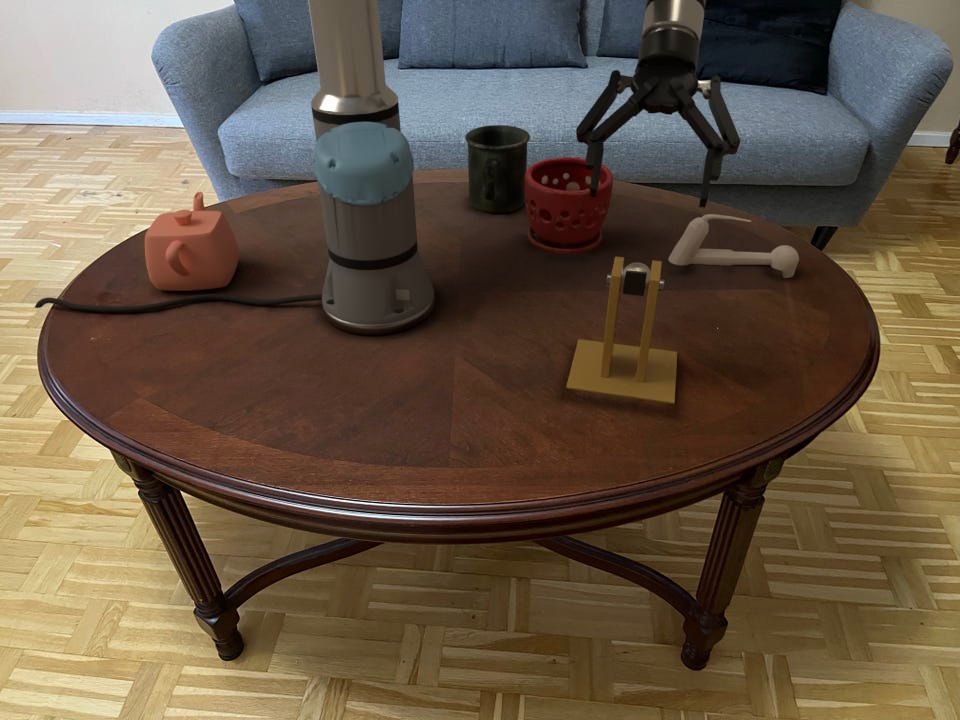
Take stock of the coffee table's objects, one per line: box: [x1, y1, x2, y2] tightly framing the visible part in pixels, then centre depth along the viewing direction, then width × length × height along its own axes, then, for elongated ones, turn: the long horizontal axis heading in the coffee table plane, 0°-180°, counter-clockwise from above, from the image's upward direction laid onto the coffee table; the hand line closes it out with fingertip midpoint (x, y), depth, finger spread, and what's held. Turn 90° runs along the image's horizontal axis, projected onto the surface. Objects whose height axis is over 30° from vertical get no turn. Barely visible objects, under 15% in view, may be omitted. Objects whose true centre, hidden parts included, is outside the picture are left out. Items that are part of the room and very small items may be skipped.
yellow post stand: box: [565, 256, 678, 405], centre depth 80 cm, size 10×12×15 cm
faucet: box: [667, 213, 800, 279], centre depth 104 cm, size 4×18×10 cm, turn 83°
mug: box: [464, 124, 531, 214], centre depth 122 cm, size 11×15×12 cm
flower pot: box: [524, 156, 614, 255], centre depth 109 cm, size 13×13×12 cm
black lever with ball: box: [621, 262, 651, 297], centre depth 82 cm, size 13×4×4 cm, turn 166°
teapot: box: [144, 191, 240, 292], centre depth 103 cm, size 12×18×10 cm, turn 4°
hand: (647, 198), depth 90 cm, fingers open, 13 cm apart
